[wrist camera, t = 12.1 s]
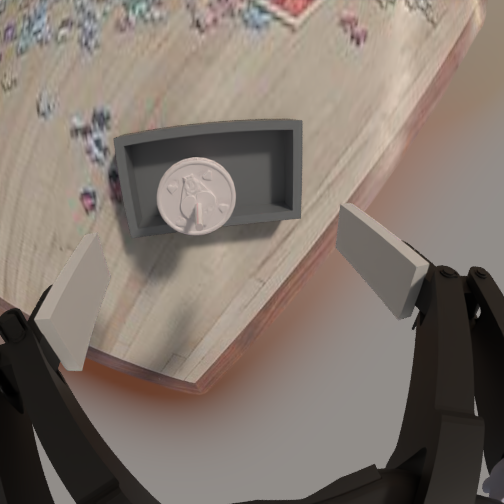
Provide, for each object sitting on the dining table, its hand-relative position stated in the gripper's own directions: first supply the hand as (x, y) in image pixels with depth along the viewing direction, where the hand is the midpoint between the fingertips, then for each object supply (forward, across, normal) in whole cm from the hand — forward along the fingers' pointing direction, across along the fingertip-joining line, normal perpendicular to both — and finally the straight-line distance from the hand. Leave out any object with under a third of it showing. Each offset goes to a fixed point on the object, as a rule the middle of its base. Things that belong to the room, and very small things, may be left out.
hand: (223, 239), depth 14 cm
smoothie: (+18, -1, -1) cm, 18 cm away
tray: (+19, 0, 0) cm, 19 cm away
